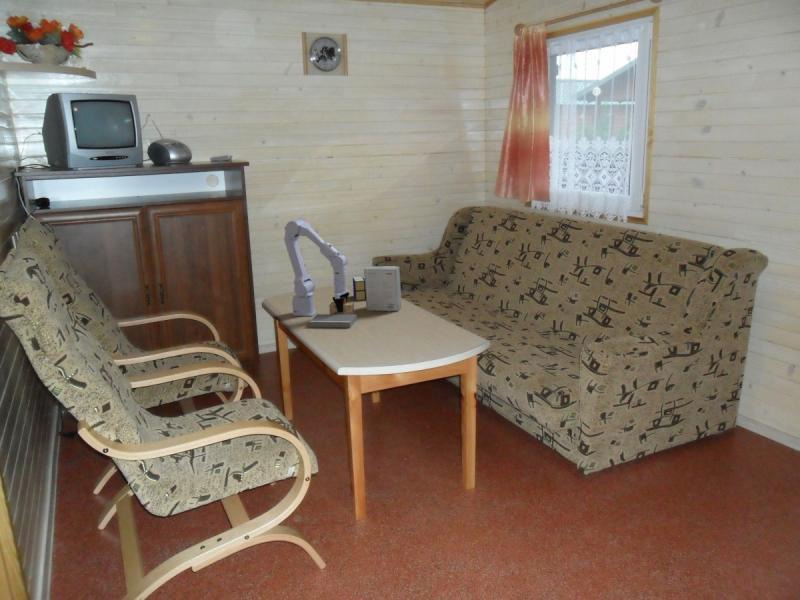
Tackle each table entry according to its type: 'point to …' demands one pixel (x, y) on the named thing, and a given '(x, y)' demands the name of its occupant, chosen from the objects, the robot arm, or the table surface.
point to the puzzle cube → (359, 288)
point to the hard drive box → (382, 288)
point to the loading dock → (333, 320)
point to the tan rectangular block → (347, 308)
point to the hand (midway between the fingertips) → (341, 310)
